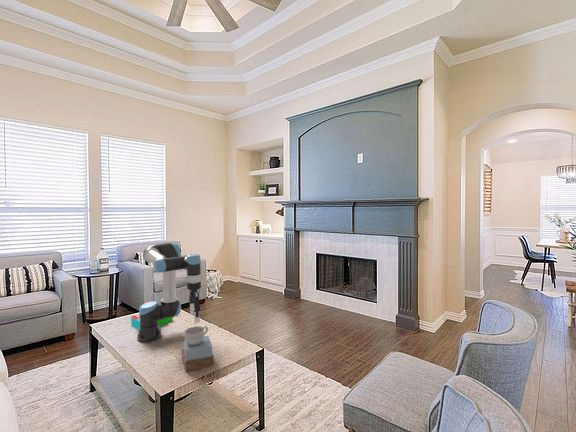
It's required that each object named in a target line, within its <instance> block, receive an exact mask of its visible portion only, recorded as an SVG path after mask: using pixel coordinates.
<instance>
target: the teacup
mask: <svg viewBox="0 0 576 432" xmlns="http://www.w3.org/2000/svg"><path fill="white" fill-rule="evenodd" d="M208 330H209V328H208V326H206V325H205V326H191V327H189V328H187V329H185V330H184V340H186V343H187V344H189V345H192V346H193V345H198V344H200V343H201V342H202V341H203V339H204V336H206V334H207V333H208Z"/></svg>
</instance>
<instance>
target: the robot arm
mask: <svg viewBox="0 0 576 432" xmlns="http://www.w3.org/2000/svg"><path fill="white" fill-rule="evenodd" d="M142 257H143V260H144V261H146V262H147V263H150V264H152V265H153V269H154V272H155V273H156V274H157V273H162V298H160V302H158V301H151V302H150V301H147V302H148V303H145V302H144V303H145V304H144V303H143V304H142V305H140V306H139V308H138V309H139V310H138V311H139V312H138V315H139V317H138V318H139V319H140V329H139V330H138V332H137V335H136V336H137V337H136V339H137V341H138V342H139V343H148V342H152V341H156V340H158V339H160V338H161V337H162V330H161V328H160V326H159V325H158V321H159V320H163V319H167V318H173V319H174V318H175V317H178V316H179V315H180V314H181V311H182V303H181V300H180V299H179V298H178V296H176V295H177V292H176V291H177V279H176V278H177V275H176V274H177V271H181V270H186V276H185V279H186V281H187V283H186V284H187V285H186V287H187V288H186V289H187V290H188V291H189V296H188V297H189V299H188V301H189V314H190V315H193V318H194V324H197V323H201V322H200V319H201V318H200V316H201V315H200V314H201V313H200V312H201V305H200V293H199V291H198V290H200V289H202V288H201V287H202V282H201V280H202V273H201V268H202V267H201V261H202V260H201V255H200V254H198V253H197V254H196V253H191V254H183V255H182V251H181V248H180V245H179V244H178V243H177V242H166V243H165V242H164V243H163V242H162V243H154V244H151V245H149V246H148V247H146V248H145V249H144V251H143V253H142Z"/></svg>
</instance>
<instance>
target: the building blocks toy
mask: <svg viewBox="0 0 576 432" xmlns="http://www.w3.org/2000/svg"><path fill="white" fill-rule="evenodd" d="M148 302H152V301H146V302H145V301H144V302H143V304H145V303H148ZM173 320H174V317H173V318H167V319H163V320H159V321H158V325H159V327H160V326H164V325H166V324H168V323H170V322H172V321H173ZM130 322H131V323H130V324H132V326H133V327H134V328H136V329H137V330H138V331H139V329H140V319H139V317H138V316H137V315H131V316H130Z"/></svg>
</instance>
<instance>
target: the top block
mask: <svg viewBox="0 0 576 432" xmlns="http://www.w3.org/2000/svg"><path fill="white" fill-rule="evenodd" d="M183 348H184V349H183V350H184V351H185V357H186V361H191V360H195V359H200V358H205V357H210V356H212V354H213V345H212V342H211V339H210V336H209V335H204V339H203V341H202V342H201V343H200V344H198V345H193V346H192V345H189V344H187V343H186V340H185V339H184V340H183Z"/></svg>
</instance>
